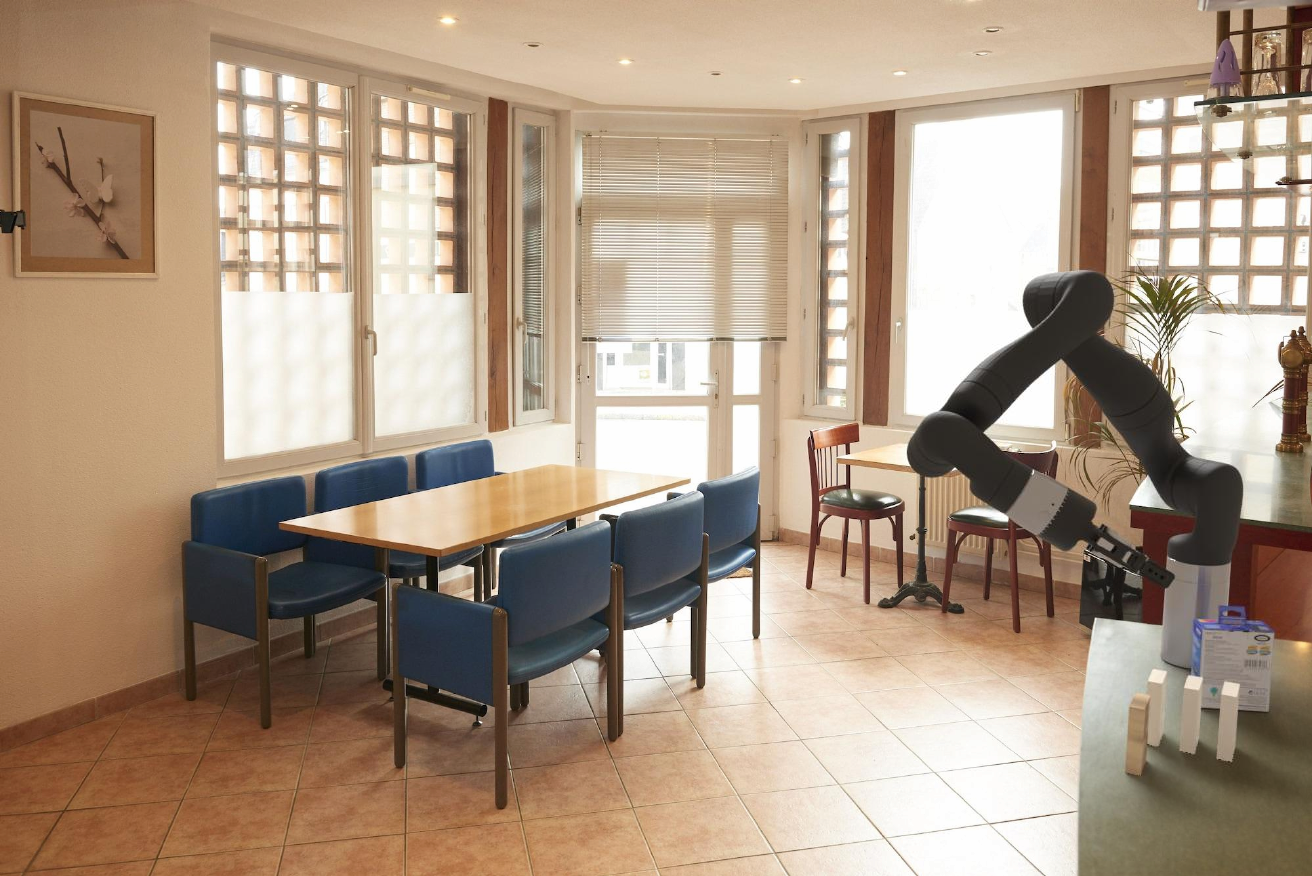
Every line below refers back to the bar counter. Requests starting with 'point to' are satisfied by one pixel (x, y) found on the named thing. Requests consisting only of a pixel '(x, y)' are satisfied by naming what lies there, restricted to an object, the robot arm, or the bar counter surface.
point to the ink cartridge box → (1233, 658)
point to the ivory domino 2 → (1191, 714)
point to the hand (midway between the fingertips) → (1163, 576)
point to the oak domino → (1137, 734)
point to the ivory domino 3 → (1228, 721)
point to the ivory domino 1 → (1156, 705)
